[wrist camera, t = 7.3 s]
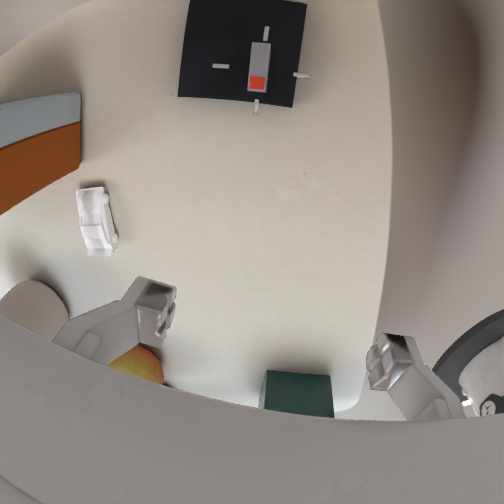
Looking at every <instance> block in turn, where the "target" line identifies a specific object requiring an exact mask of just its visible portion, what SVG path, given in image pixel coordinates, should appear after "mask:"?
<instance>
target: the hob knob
mask: <svg viewBox="0 0 504 504" xmlns="http://www.w3.org/2000/svg"><path fill="white" fill-rule="evenodd" d="M271 53H272V48H271V44H270V43H259V42H252V47H251V57H250V66H249V76H248V86H247V91H256V92H266V93H267V90H268V81H269V71H270V62H271Z"/></svg>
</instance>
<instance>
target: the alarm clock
mask: <svg viewBox="0 0 504 504" xmlns="http://www.w3.org/2000/svg"><path fill="white" fill-rule="evenodd" d="M80 108H81V98H80V95H79V94H78V93H75V92H71V93H63V94H55V95H48V96H41V97H35V98H29V99H24V100H19V101H14V102H9V103H4V104H0V215H2V214H3V213H5V212H6V211H8V210H9V209H11V208H12V207H14V206H15V205H17V204H18V203H20V202H21V201H23V200H25V199H26V198H28V197H29V196H31V195H33V194H34V193H36V192H37V191H39V190H41V189H42V188H44V187H46V186H48V185H49V184H51V183H53V182H54V181H56V180H58V179H60V178H61V177H63V176H65V175H67V174H69V173H71V172H73V171H75V170H76V169H78V168H79V165H80V162H81V151H80V122H79V120H80Z"/></svg>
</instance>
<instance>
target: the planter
mask: <svg viewBox="0 0 504 504" xmlns="http://www.w3.org/2000/svg"><path fill="white" fill-rule="evenodd" d="M0 315H1V316H3V317H4V318H6V319H8V320H10V321H12V322H13V323H15V324H17V325H19V326H21V327H23V328H24V329H26V330H28V331H30V332H32V333H34V334H36V335H38V336H40V337H42V338H44V339H46V340H48V341H50V342H51V341H52V340H53V338H54V337H55V335H56V334H57V333H58V331H59V330H60V329H61V327H62V326H63V325H64V323H65V322H66V321H67V320H69V316H68V312H67V309H66V307H65V305H64V303H63V302H62V300H61V299H60V297H59V296H58V295H57V294H56V293H55V292H54V291H53V290H52V289H51V288H50V287H48V286H47V285H45V284H43V283H41V282H39V281H34V280H28V281H24V282H21V283H19V284H17V285H16V286H15V287H13V288H12V289H11V290H10V291H9V292H8V293H7V294H6V295H5V296H4V297H3V298H2V299H1V300H0Z"/></svg>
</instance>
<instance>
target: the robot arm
mask: <svg viewBox="0 0 504 504" xmlns="http://www.w3.org/2000/svg"><path fill="white" fill-rule="evenodd" d="M176 291H177V288H176V287H175V286H172V285H168V284H165V283H162V282H158V281H155V280H151V279H148V278H145V277H141V276H139V277H137V278H136V279H135V281H134V282H133V283H132V285H131V286H130V288H129V289H128V291H127V292H126V294H125V295H124V296H123V298H122V299H121V301H118V300H116V301H114V302H111V303H109V304H106V305H104V306H101V307H99V308H97V309H94V310H92V311H89V312H87V313H84V314H82V315H79V316H77V317H75V318H72V319H70V320H67V321H66V322H65V323H64V325H63V326H62V327H61V329H60V330H59V331H58V333H57V334H56V335H55V337H54V338H53V340H52V341H51V342H50V341H48V340H46V339H44V338H42V337H40V336H38V335H36V334H34V333H32V332H30V331H28V330H26V329H24V328H23V327H21V326H19V325H17V324H15V323H13V322H12V321H10V320H8V319H6V318H4V317H3V316H1V315H0V504H504V336H503V337H502V338H501V339H500V340H498V341H497V342H495V343H493V344H491V345H490V346H488V347H487V348H485V349H484V350H482V351H481V352H480V353H479V354H477V355H476V356H475V357H474V358H473V359H472V360H471V361H470V362H469V363H468V364H467V365H466V367H465V368H464V369H463V371H462V372H461V374H460V377H459V384H460V385H461V387H462V394H463V395H464V396H467V398H468V401H464V402H463V405H464V406H465V405H469V404H471V406H472V408H473V410H474V412H475V414H476V416H477V417H470V418H466V416H465V413H464V410H463V408H462V405H461V402H460V399H459V397H458V396H457V395H456V394H455V393H454V392H453V391H452V390H451V389H450V388H449V387H448V386H447V385H446V384H445V383H444V382H443V381H442V380H441V379H440V378H439V377H438V376H437V375H436V374H435V373H434V372H433V371H432V370H431V369H430V368H429V367H428V366H427V365H424V364H423V361H422V358H421V355H420V353H419V350H418V348H417V345H416V342H415V340H414V339H413V338H412V337H409V336H400V335H393V334H387V333H381V334H380V335H379V336H378V337H377V339H376V342H377V344H375V345H373V346H372V347H371V348H370V349H369V351H368V353H367V356H366V368H367V369H368V370H369V372H370V375H369V383H370V387H371V390H380V391H388V393H389V395H390V396H391V398H392V399H393V401H394V402H395V404H396V405H397V407H398V408H399V409H400V411H401V412H402V414H403V415H404V416H405V418H406V420H407V421H370V420H351V419H336V418H326V417H316V416H307V415H299V414H292V413H285V412H278V411H272V410H266V409H260V408H255V407H250V406H245V405H240V404H235V403H230V402H225V401H221V400H217V399H212V398H208V397H204V396H200V395H196V394H192V393H189V392H185V391H181V390H178V389H174V388H171V387H168V386H164V385H161V384H158V383H154V382H151V381H148V380H145V379H142V378H139V377H136V376H133V375H130V374H128V373H125V372H122V371H119V370H116V369H114V368H111V367H108V364H109V363H110V362H112V361H113V360H115V359H116V358H118V357H119V356H121V355H122V354H124V353H125V352H127V351H129V350H130V349H132V348H133V347H135V346H136V345H138V344H139V342H140V343H143V344H147V345H150V346H154V347H157V348H161V346H162V344H163V342H164V339H165V337H166V329H168V328H170V326H171V323H172V320H173V317H174V312H175V303H174V299H175V297H176Z"/></svg>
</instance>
